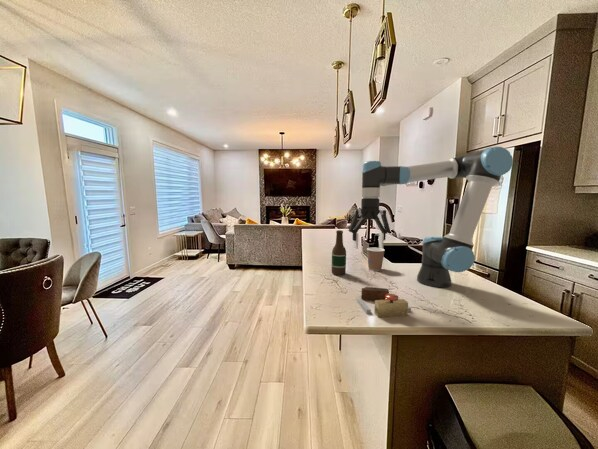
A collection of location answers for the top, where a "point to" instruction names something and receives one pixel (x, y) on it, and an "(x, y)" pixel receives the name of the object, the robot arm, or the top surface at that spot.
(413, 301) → the top surface
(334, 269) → the beer bottle
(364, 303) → the rails
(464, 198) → the robot arm
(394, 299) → the red dome button
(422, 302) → the top surface
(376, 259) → the coffee cup
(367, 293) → the brick
